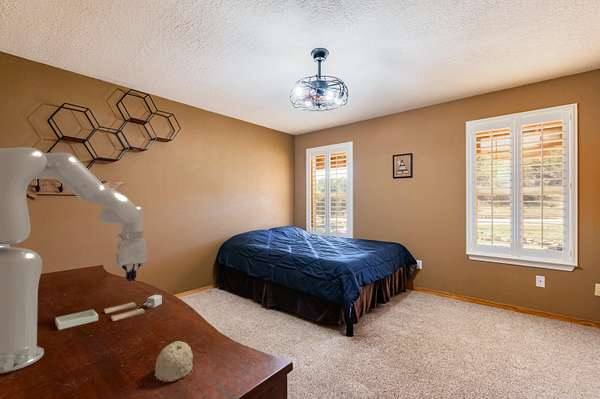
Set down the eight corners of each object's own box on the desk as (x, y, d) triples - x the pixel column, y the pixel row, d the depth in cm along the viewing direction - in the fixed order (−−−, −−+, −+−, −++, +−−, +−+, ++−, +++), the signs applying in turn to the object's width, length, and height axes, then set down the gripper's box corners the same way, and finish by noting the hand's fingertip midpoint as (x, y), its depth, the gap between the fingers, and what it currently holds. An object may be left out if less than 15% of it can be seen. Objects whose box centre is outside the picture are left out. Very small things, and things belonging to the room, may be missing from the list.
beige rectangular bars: (144, 313, 116) (144, 310, 116) (113, 320, 108) (113, 318, 108) (133, 304, 126) (133, 302, 126) (103, 311, 118) (103, 308, 118)
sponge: (194, 384, 78) (201, 343, 83) (183, 382, 70) (192, 337, 76) (159, 384, 77) (168, 343, 83) (144, 382, 70) (156, 337, 75)
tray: (98, 320, 109) (98, 314, 109) (58, 329, 101) (58, 324, 101) (93, 314, 114) (93, 309, 114) (55, 323, 106) (55, 317, 106)
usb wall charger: (161, 304, 126) (161, 295, 127) (150, 310, 120) (150, 300, 120) (154, 303, 127) (154, 294, 127) (141, 309, 121) (142, 299, 121)
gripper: (113, 237, 111) (112, 285, 111) (154, 235, 122) (153, 279, 122) (108, 236, 116) (106, 282, 116) (148, 234, 127) (147, 275, 127)
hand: (130, 280), depth 119 cm, fingers closed
